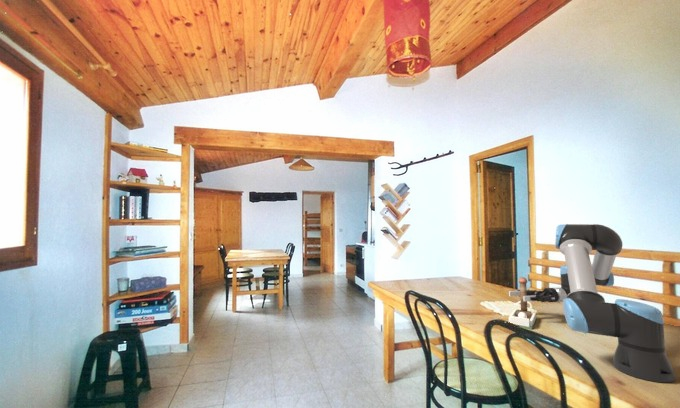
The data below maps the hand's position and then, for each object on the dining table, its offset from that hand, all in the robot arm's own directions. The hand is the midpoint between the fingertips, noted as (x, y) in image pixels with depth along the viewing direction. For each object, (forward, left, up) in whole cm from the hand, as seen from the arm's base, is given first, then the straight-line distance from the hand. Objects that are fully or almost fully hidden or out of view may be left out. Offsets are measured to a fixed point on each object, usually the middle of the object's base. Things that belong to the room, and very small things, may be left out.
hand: (516, 296), depth 162 cm
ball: (-4, -3, -9) cm, 10 cm away
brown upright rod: (+2, -3, -11) cm, 11 cm away
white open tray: (-4, -3, -12) cm, 13 cm away
